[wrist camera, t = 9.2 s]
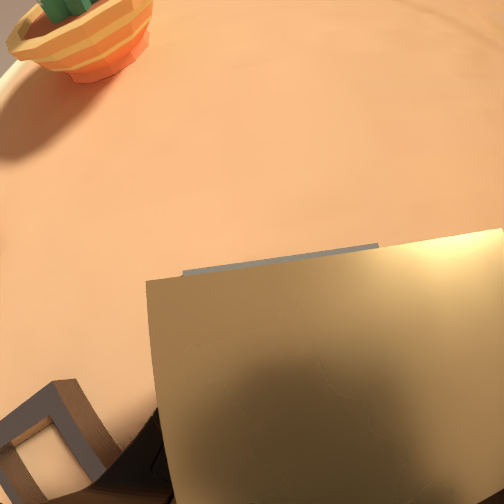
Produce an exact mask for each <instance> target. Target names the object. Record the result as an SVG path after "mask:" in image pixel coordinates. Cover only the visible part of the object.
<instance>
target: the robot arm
mask: <svg viewBox="0 0 504 504" xmlns="http://www.w3.org/2000/svg"><path fill="white" fill-rule="evenodd" d="M0 504H2V503H0ZM37 504H177V502H176V498H175V494H174V490H173V485H172V481H171V476H170V471H169V467H168V462H167V457H166V451H165V446H164V441H163V435H162V429H161V423H160V417H159V410H158V407H157V408H156V410H155V411H154V413H153V416H151V417H150V418H149V420H148V421H147V422H146V424H145V425H144V426H143V428H142V429H141V430H140V432H139V433H138V434H137V436H136V437H135V438H134V439H133V441H132V442H131V443H130V444H129V445H128V446H127V448H126V449H125V450H124V451H123V452H122V453H121V454H120V455H119V457H118V458H117V459H116V460H115V461H114V462H113V463H112V464H111V465H110V466H109V467H108V468H107V469H106V471H105V472H104V473H103V474H102V475H101V476H100V477H99V478H98V479H97V480H96V481H95V482H93V483H92V484H91V485H90V486H88V487H86V488H85V489H83V490H80V491H78V492H75V493H71V494H68V495H65V496H62V497H59V498H55V499H52V500H48V501H45V502H41V503H37ZM477 504H504V488H503V489H502V490H500V491H498V492H497V493H495V494H493V495H492V496H490V497H488V498H486V499H485V500H483V501H481V502H479V503H477Z"/></svg>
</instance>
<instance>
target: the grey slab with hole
mask: <svg viewBox="0 0 504 504" xmlns="http://www.w3.org/2000/svg"><path fill="white" fill-rule="evenodd" d="M53 422H54V423H55V425H56V426H57V428H58V430H59V431H60V433H61V435H62V436H63V438H64V440H65V441H66V443H67V445H68V446H69V448H70V449H71V451H72V452H73V454H74V455H75V457H76V458H77V460H78V461H79V463H80V464H81V466H82V467H83V469H84V470H85V472H86V473H87V474H88V476H89V477H90V479H91V480H92V481H93V482H95V481H96V480H97V479H98V478H99V477H100V476H101V475H102V474H103V473H104V472H105V471H106V469H107V468H108V467H109V466H110V465H111V464H112V463H113V462H114V461H115V460H116V459H117V458H118V457H119V455H120V454H121V453H122V452H121V450H120V449H119V448H118V446H117V445H116V443H115V442H114V441H113V439H112V438H111V436H110V435H109V433H108V432H107V430H106V429H105V427H104V426H103V424H102V422H101V421H100V419H99V418H98V416H97V415H96V413H95V411H94V410H93V408H92V406H91V405H90V403H89V401H88V400H87V398H86V396H85V395H84V393H83V391H82V389H81V387H80V386H79V384H78V382H77V380H76V379H67V380H57V381H51V382H50V383H49V384H47V385H46V386H45V387H44V388H42V389H41V390H40V391H38V392H37V393H36V394H34V395H33V396H32V397H31V398H29V399H28V400H27V401H25V402H24V403H23V404H21V405H20V406H19V407H18V408H16V409H15V410H14V411H12V412H11V413H10V414H8V415H7V416H6V417H5V418H3V419H2V420H1V421H0V485H1V486H2V488H3V490H4V491H5V493H6V494H7V496H8V497H9V499H10V500H11V502H12V503H13V504H37V503H41V502H45V501H48V500H47V499H46V498H45V496H44V495H43V493H42V492H41V490H40V489H39V487H38V486H37V484H36V483H35V481H34V480H33V478H32V477H31V475H30V473H29V472H28V470H27V469H26V467H25V465H24V464H23V462H22V460H21V459H20V457H19V455H18V453H17V452H16V450H15V448H14V447H16V446H17V445H19V444H20V443H22V442H23V441H25V440H27V439H28V438H30V437H31V436H33V435H34V434H36V433H37V432H39V431H40V430H42V429H44V428H45V427H47V426H48V425H50V424H51V423H53Z"/></svg>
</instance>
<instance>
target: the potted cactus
mask: <svg viewBox="0 0 504 504" xmlns="http://www.w3.org/2000/svg"><path fill="white" fill-rule="evenodd" d="M37 2H38V3H37V4H36V5H35V6H34V7H33V8H32V9H30V10H29V11H28V12H27V13H26V14H25V15H24V16H23V17H22V18H21V19H20V20H19V22H18V23H17V24H16V26H15V28H14V29H13V31H12V32H11V34H10V35H9V37H8V39H7V40H6V43H7V47H8V50H9V53H10V54H11V55H13V56H14V57H16V58H17V59H18V60H20V61H25V60H32V61H34V62H36V63H37V64H39V65H41V66H43V67H45V68H46V69H48V70H51V71H57V72H64V73H69V75H70V77H71V78H72V79H73V81H74V82H75V83H93V82H96V81H98V80H101V79H104V78H107V77H109V76H112V75H114V74H116V73H117V72H119V71H120V70H122V69H123V68H125V67H126V66H128V65H129V64H131V63H132V62H134V61H135V60H136V59H137V58H138V57H139V56H140V54H141V53H142V52H143V51H144V50H145V48H146V47H147V46H148V44H149V32H148V31H147V26H148V24H149V22H150V19H151V17H152V9H153V0H37Z"/></svg>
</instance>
